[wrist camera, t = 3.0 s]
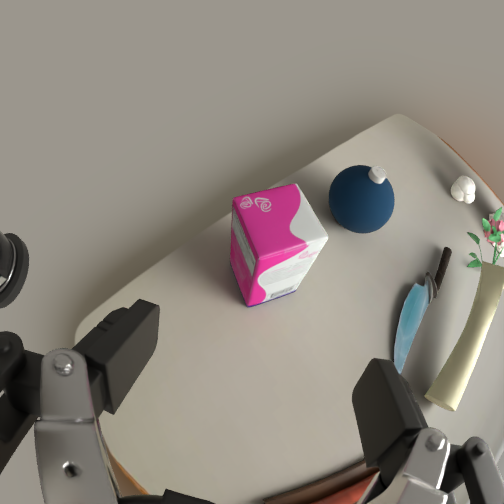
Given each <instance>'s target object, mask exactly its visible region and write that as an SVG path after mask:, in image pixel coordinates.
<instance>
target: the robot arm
mask: <svg viewBox="0 0 504 504" xmlns="http://www.w3.org/2000/svg"><path fill="white" fill-rule="evenodd" d="M17 260H18V254H17V249H16V246H15V244H14V243H13V242H12V241H11V240H10V239H8V238H7V237H6V236H5V235H4V234H3V233H2V232H1V231H0V294H1V293H3V292H4V291H5V290H6V288H7V287H8V286H9V284H10V282H11V281H12V279H13V276H14V274H15V271H16V267H17ZM159 314H160V307H159V305H156V304H153V303H151V302H148V301H145V300H142V299H138V300H137V301H136V302H135V303H134V304H133V305H132V306H131V307H130V308H129V309H127V308H124V307H122V308H120V309H117V310H114V311H112V312H111V313H109V314H108V315H107V316H106V317H105V318H104V319H103V321H101V322H100V323H99V324H98V325H97V327H94V328H93V329H92V330H91V331H90V332H89V333H88V334H87V335H86V336H85V337H84V338H83V339H82V340H81V341H80V342H79V343H78V344H76V345H75V346H74V347H73V348H72V349H67V348H60V349H55V350H52V351H50V352H49V353H47V354H46V355H45V356H44V355H41V354H37V353H34V352H31V351H27V350H24V347H23V343H22V340H21V339H20V337H19V336H18V335H17V334H15V333H12V332H8V331H4V332H0V392H1V391H2V390H3V391H4V394H3V395H2V396H1V397H0V474H1V472H2V471H3V469H4V467H5V466H6V464H7V463H8V461H9V460H10V458H11V456H12V455H13V453H14V452H15V450H16V449H17V447H18V446H19V444H20V443H21V441H22V440H23V438H24V437H25V435H26V434H27V432H28V431H29V429H30V428H31V427H32V425H33V424H34V422H35V424H34V436H35V448H36V457H37V465H38V471H39V478H40V483H41V489H42V494H43V498H44V503H45V504H215V503H212V502H210V501H207V500H203V499H199V498H195V497H192V496H188V495H184V494H181V493H178V492H174V491H171V490H168V489H165V492H164V495H163V496H158V495H131V496H124V497H122V494H121V492H120V489H119V486H118V484H117V481H116V478H115V476H114V473H113V470H112V467H111V464H110V461H109V458H108V454H107V451H106V447H105V444H104V439H103V435H102V431H101V427H100V423H99V416H100V415H101V413H102V412H103V410H105V411H107V412H109V413H111V414H113V415H114V414H115V412H116V411H117V409H118V407H119V406H120V404H121V403H122V401H123V400H124V398H125V396H126V395H127V393H128V392H129V390H130V389H131V387H132V386H133V384H134V382H135V381H136V379H137V378H138V376H139V375H140V373H141V372H142V370H143V369H144V367H145V366H146V364H147V362H148V361H149V359H150V358H151V356H152V355H153V353H154V351H155V348H156V345H157V339H158V326H159ZM352 403H353V407H354V412H355V416H356V420H357V425H358V429H359V434H360V438H361V443H362V448H363V452H364V457H365V463H366V468H371V467H379V470H380V471H379V472H378V473H377V474H376V475H375V476H374V478H373V479H372V481H371V483H370V484H369V486H368V487H367V489H366V491H365V492H364V494H363V495H362V497H361V498H360V500H359V501H358V502H357V504H457V503H456V499H455V495H454V491H453V490H455V489H456V488H457V487H459V486H460V485H461V484H462V483H464V482H465V485H466V489H467V492H468V495H469V499H470V504H504V482H503V479H502V477H501V474H500V472H499V469H498V467H497V464H496V462H495V459H494V457H493V455H492V452H491V450H490V448H489V446H488V444H487V443H486V442H485V441H484V440H483V439H481V438H479V437H471V438H469V439H468V440H467V441H466V442H465V443H464V444H463V445H462V446H459V445H453V444H450V443H449V440H448V438H447V437H446V435H445V434H444V433H443V432H441V431H440V430H438V429H436V428H431V427H428V425H427V423H426V421H425V418H424V416H423V414H422V412H421V409H420V407H419V405H418V403H417V402H416V399H415V396H414V394H412V390H411V388H410V386H409V384H408V382H407V381H406V380H405V379H404V378H403V377H402V376H401V375H400V374H399V373H398V371H397V369H396V367H395V365H394V363H393V361H391V360H385V359H378V358H373V359H372V360H371V361H370V362H369V364H368V366H367V367H366V369H365V371H364V373H363V374H362V376H361V378H360V379H359V381H358V382H357V384H356V386H355V388H354V390H353V394H352ZM38 417H41V418H40V420H37V418H38Z"/></svg>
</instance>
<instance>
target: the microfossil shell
mask: <svg viewBox="0 0 504 504" xmlns="http://www.w3.org/2000/svg"><path fill="white" fill-rule="evenodd" d="M474 192H475V184H474V182H473V180H472V179H471V178H469V177H467V176H460V177H459V178H458V179H457V181H456V182H455V183H454V184H453V185H452V187H451V194H452V196H453V198H454V199H456V200H457V201H464V202H465V203H472V202H473V201H474V199H475V194H474Z"/></svg>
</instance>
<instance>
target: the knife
mask: <svg viewBox="0 0 504 504" xmlns="http://www.w3.org/2000/svg"><path fill="white" fill-rule="evenodd" d="M451 253H452V251H451V249H450V248H448V247H445V248H444V250H443V254H442V257H441V260H440V264H439V267H438V270H437V273H436V276H435V279H434V278H433V276H432V275H431V273H430V272H426V278H425V283H424V286H420V285H418V284H417V283H415V285H414V286H413V288H412V289H411V291H410V292H409V294H408V296H407V298H406V300H405V302H404V306H403V309H402V312H401V315H400V320H399V324H398V329H397V333H396V341H395V348H394V365H395V367H396V369H397V371H398V373H399V374H400V375H401V372H402V369H403V366H404V363H405V360H406V357H407V355H408V352H409V350H410V347H411V345H412V342H413V340H414V337H415V335H416V332H417V330H418V327H419V325H420V322H421V320H422V318H423V315H424V313H425V311H426V308H427V306H428V304H430V303H431V301H432V300H433V298H437V296H438V291H439V289H440V286H441V283H442V280H443V278H444V275H445V272H446V269H447V266H448V263H449V260H450V256H451Z"/></svg>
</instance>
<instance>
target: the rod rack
mask: <svg viewBox="0 0 504 504" xmlns="http://www.w3.org/2000/svg"><path fill="white" fill-rule="evenodd" d="M379 471H380V470H379V467H371V468H366V463H365V460H363V461H361V462H359V463H357V464H355V465H353V466H351V467H349V468H347V469H345V470H342V471H340V472H338V473H336V474H334V475H331V476H329V477H327V478H324V479H322V480H320V481H317V482H315V483H312V484H309V485H307V486H304V487H301V488H299V489H296V490H293V491H290V492H287V493H284V494H281V495H277V496H274V497H271V498H267V499H263V501H264V504H357V502H358V501H359V500H360V498H361V497H362V495H363V494H364V492H365V491H366V489H367V487H368V486H369V484H370V483H371V481H372V479H373V478H374V476H375V475H376V474H377V473H378V472H379Z"/></svg>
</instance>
